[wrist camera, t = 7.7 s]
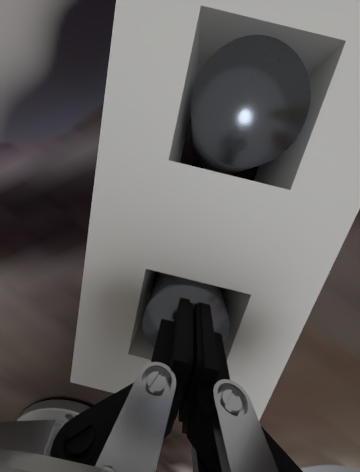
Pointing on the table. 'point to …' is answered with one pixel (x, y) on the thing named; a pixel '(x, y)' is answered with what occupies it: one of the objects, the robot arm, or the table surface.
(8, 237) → the table surface
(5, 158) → the table surface
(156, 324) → the inner pin
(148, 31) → the pin block
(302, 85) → the outer pin
